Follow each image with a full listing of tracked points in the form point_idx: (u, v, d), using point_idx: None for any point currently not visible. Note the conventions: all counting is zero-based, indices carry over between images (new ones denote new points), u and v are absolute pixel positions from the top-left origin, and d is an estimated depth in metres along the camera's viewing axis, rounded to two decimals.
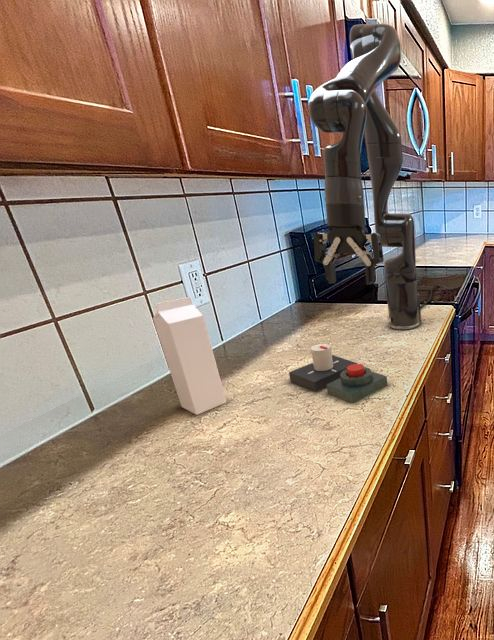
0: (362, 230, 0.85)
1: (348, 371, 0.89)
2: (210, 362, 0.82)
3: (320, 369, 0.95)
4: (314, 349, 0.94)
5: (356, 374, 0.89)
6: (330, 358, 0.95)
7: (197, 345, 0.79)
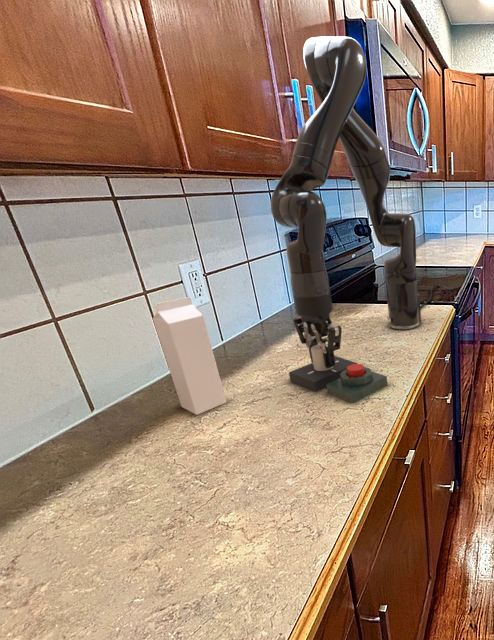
0: (323, 318, 0.89)
1: (348, 371, 0.89)
2: (210, 362, 0.82)
3: (320, 369, 0.95)
4: (314, 349, 0.94)
5: (356, 374, 0.89)
6: None
7: (197, 345, 0.79)
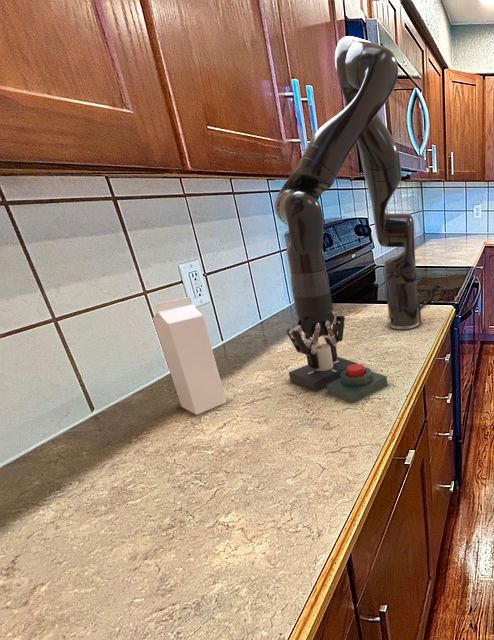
0: (299, 318, 0.89)
1: (348, 371, 0.89)
2: (210, 362, 0.82)
3: None
4: (317, 345, 0.96)
5: (356, 374, 0.89)
6: None
7: (197, 345, 0.79)
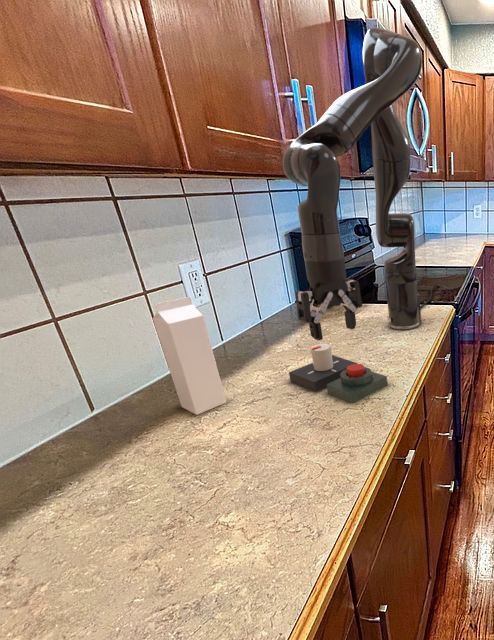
0: (310, 286, 0.83)
1: (348, 371, 0.89)
2: (210, 362, 0.82)
3: None
4: (317, 345, 0.96)
5: (356, 374, 0.89)
6: (316, 361, 0.94)
7: (197, 345, 0.79)
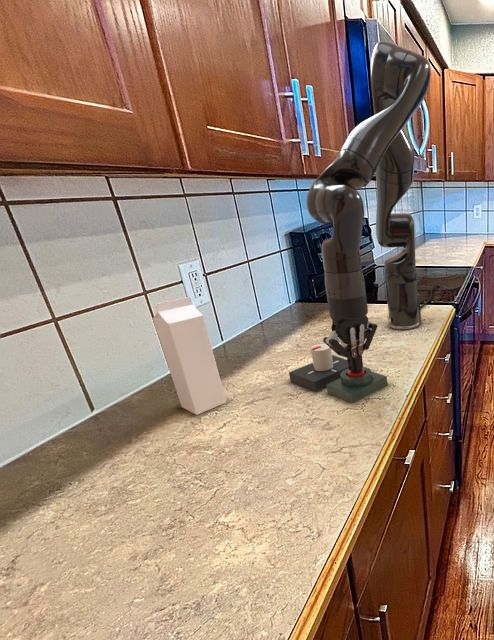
0: (332, 322, 0.83)
1: (349, 375, 0.89)
2: (210, 362, 0.82)
3: None
4: (317, 345, 0.96)
5: None
6: (316, 361, 0.94)
7: (197, 345, 0.79)
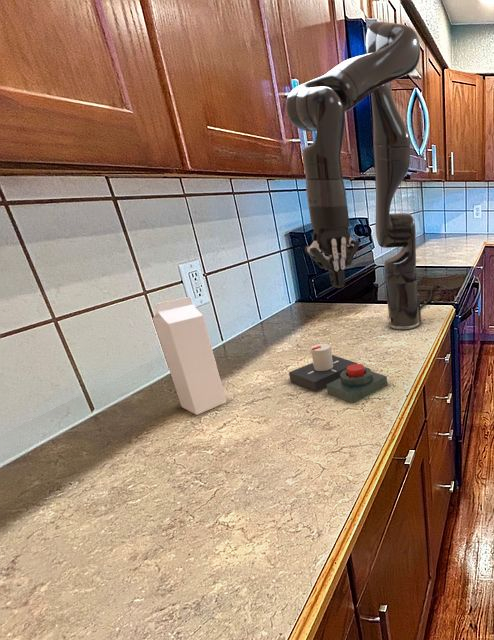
0: (314, 232, 0.85)
1: (348, 371, 0.89)
2: (210, 362, 0.82)
3: None
4: (317, 345, 0.96)
5: (356, 374, 0.89)
6: (316, 361, 0.94)
7: (197, 345, 0.79)
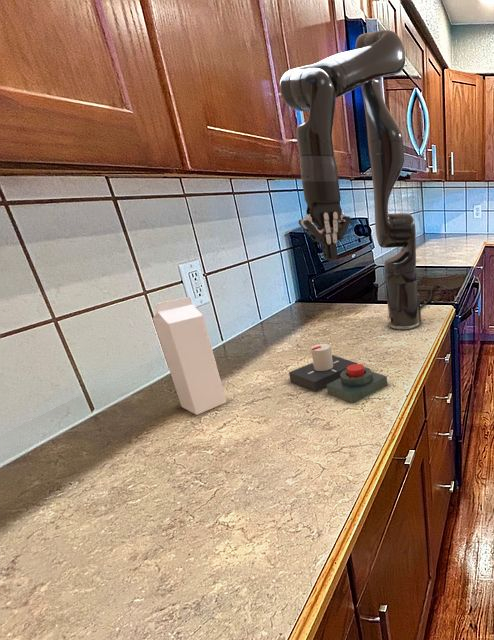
0: (307, 206, 0.91)
1: (348, 371, 0.89)
2: (210, 362, 0.82)
3: None
4: (317, 345, 0.96)
5: (356, 374, 0.89)
6: (316, 361, 0.94)
7: (197, 345, 0.79)
